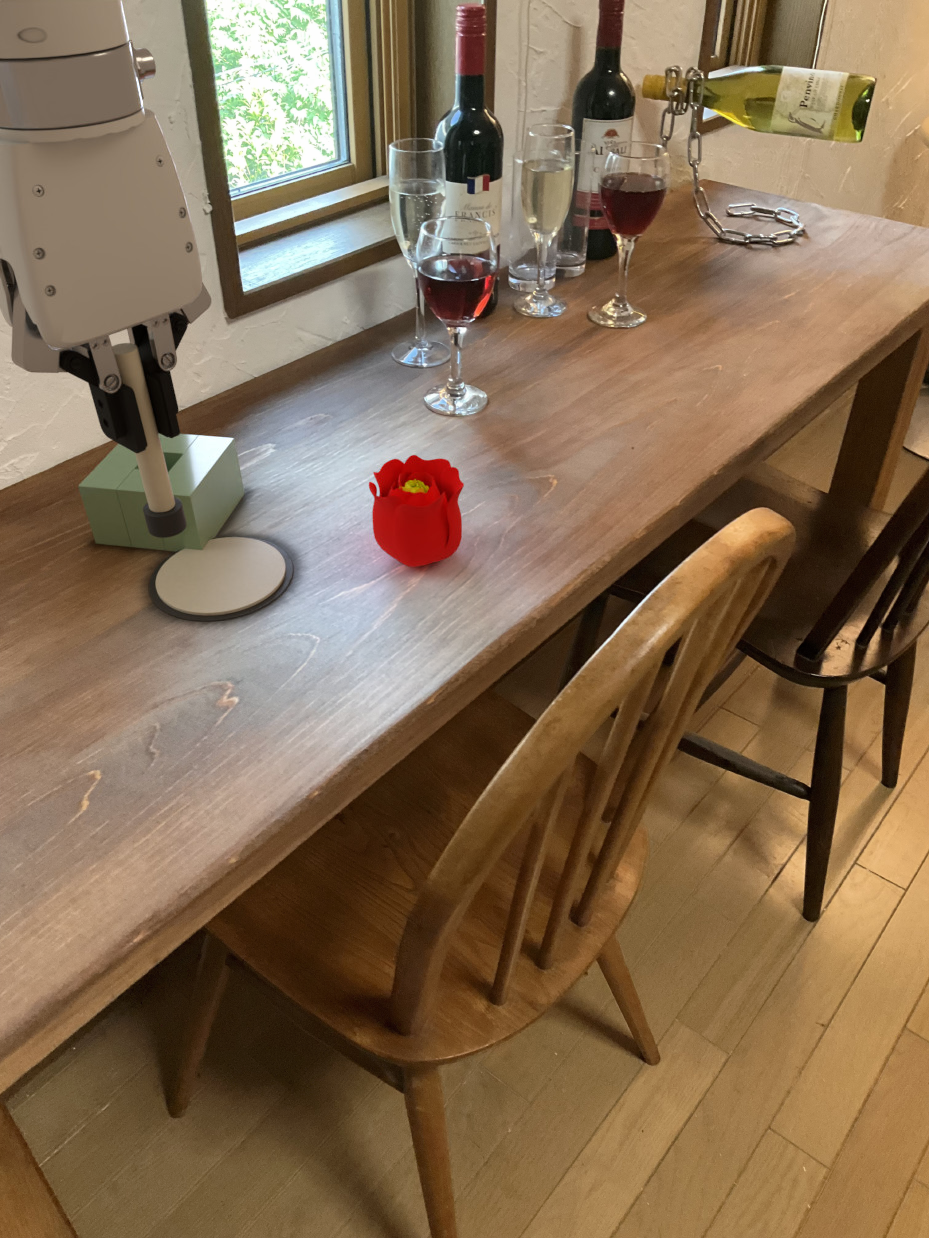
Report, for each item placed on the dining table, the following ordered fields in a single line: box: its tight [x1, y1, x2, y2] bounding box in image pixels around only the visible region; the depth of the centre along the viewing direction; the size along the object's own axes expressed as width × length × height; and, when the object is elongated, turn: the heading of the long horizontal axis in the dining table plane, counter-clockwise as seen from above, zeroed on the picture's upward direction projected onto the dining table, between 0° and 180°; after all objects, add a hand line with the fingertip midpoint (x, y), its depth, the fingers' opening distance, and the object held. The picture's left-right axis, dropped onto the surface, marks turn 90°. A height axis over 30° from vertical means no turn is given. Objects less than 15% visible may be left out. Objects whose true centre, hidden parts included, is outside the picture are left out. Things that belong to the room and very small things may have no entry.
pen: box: [112, 342, 187, 538], centre depth 57 cm, size 2×2×12 cm
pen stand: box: [77, 433, 246, 553], centre depth 87 cm, size 10×10×6 cm
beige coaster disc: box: [148, 535, 294, 623], centre depth 81 cm, size 12×12×1 cm
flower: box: [368, 454, 465, 568], centre depth 81 cm, size 8×8×8 cm
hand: (144, 435), depth 57 cm, fingers closed on pen, 1 cm apart
